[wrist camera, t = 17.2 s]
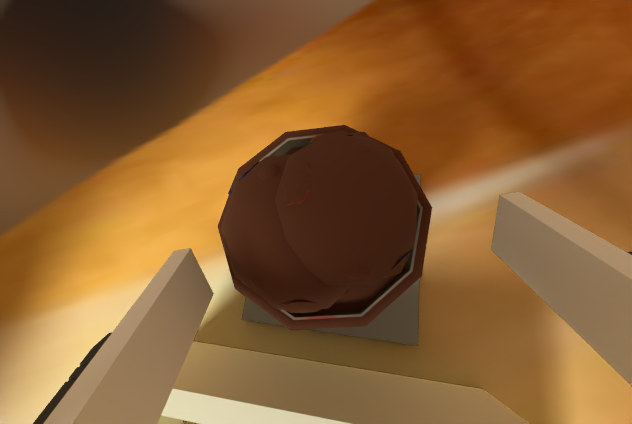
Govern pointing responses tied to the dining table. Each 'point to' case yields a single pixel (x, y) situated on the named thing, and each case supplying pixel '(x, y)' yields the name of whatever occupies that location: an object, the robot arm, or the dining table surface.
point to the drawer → (315, 393)
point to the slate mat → (387, 326)
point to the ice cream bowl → (325, 228)
